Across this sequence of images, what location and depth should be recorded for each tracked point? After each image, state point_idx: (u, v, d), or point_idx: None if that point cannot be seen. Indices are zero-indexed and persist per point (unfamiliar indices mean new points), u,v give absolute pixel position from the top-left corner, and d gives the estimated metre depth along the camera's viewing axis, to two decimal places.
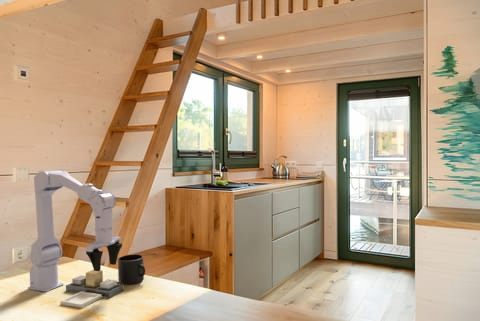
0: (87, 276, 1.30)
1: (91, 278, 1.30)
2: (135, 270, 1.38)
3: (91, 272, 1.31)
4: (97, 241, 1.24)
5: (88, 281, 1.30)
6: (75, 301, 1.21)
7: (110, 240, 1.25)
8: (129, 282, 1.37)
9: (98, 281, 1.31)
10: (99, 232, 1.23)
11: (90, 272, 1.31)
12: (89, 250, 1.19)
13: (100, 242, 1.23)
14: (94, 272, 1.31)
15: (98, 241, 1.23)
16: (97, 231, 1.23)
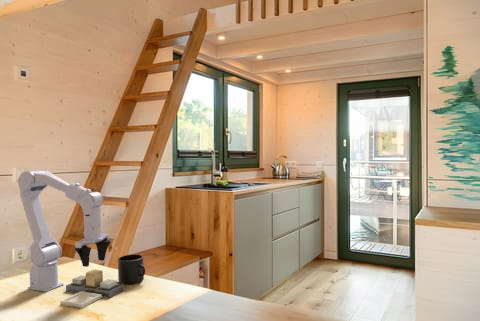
0: (87, 276, 1.31)
1: (91, 278, 1.30)
2: (135, 270, 1.38)
3: (91, 272, 1.31)
4: (86, 238, 1.29)
5: (88, 281, 1.30)
6: (75, 301, 1.21)
7: (98, 237, 1.31)
8: (129, 282, 1.37)
9: (98, 281, 1.31)
10: (88, 229, 1.29)
11: (90, 272, 1.31)
12: (78, 246, 1.25)
13: (89, 239, 1.29)
14: (94, 272, 1.31)
15: (87, 238, 1.29)
16: (86, 228, 1.29)
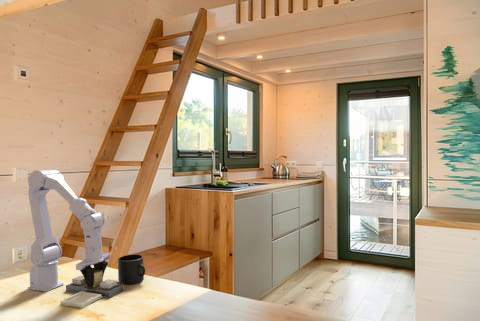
0: None
1: None
2: (135, 270, 1.38)
3: None
4: (86, 259, 1.29)
5: None
6: (75, 301, 1.21)
7: (99, 258, 1.31)
8: (129, 282, 1.37)
9: (98, 281, 1.31)
10: (88, 251, 1.29)
11: None
12: (78, 268, 1.25)
13: (89, 260, 1.29)
14: (94, 272, 1.31)
15: (87, 259, 1.29)
16: (86, 250, 1.29)
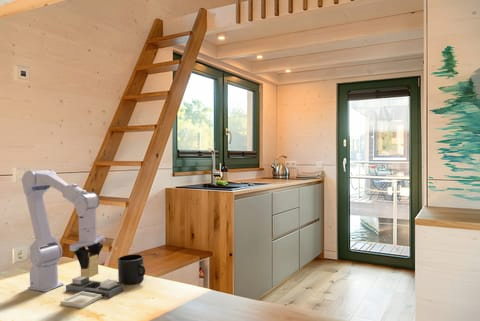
0: None
1: None
2: (135, 270, 1.38)
3: None
4: (81, 241, 1.25)
5: None
6: (75, 301, 1.21)
7: (94, 240, 1.27)
8: (129, 282, 1.37)
9: (93, 265, 1.27)
10: (82, 232, 1.25)
11: None
12: (72, 249, 1.21)
13: (83, 242, 1.25)
14: (89, 255, 1.27)
15: (82, 241, 1.25)
16: (81, 231, 1.25)
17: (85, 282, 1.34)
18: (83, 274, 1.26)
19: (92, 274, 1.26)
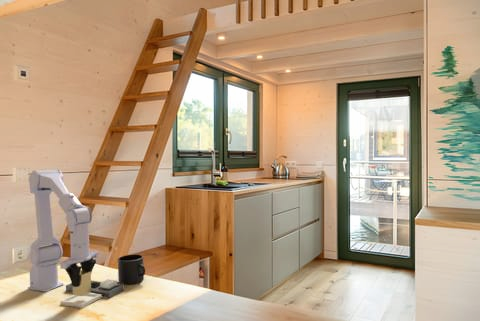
0: None
1: None
2: (135, 270, 1.38)
3: None
4: (72, 257, 1.20)
5: None
6: (75, 301, 1.21)
7: (86, 256, 1.21)
8: (129, 282, 1.37)
9: (86, 283, 1.21)
10: (74, 248, 1.20)
11: None
12: (63, 267, 1.15)
13: (75, 258, 1.19)
14: (81, 273, 1.21)
15: (73, 257, 1.20)
16: (72, 247, 1.20)
17: None
18: (75, 293, 1.21)
19: (84, 293, 1.21)
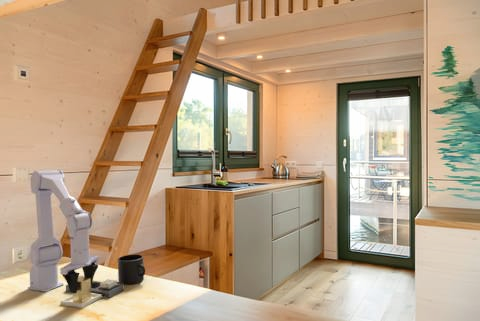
0: None
1: (78, 286, 1.20)
2: (135, 270, 1.38)
3: (78, 280, 1.21)
4: (72, 263, 1.20)
5: None
6: None
7: (86, 261, 1.21)
8: (129, 282, 1.37)
9: (86, 290, 1.21)
10: (74, 253, 1.20)
11: None
12: (63, 273, 1.16)
13: (75, 264, 1.19)
14: (81, 280, 1.21)
15: (73, 263, 1.20)
16: (72, 252, 1.20)
17: None
18: (75, 300, 1.21)
19: (84, 299, 1.21)
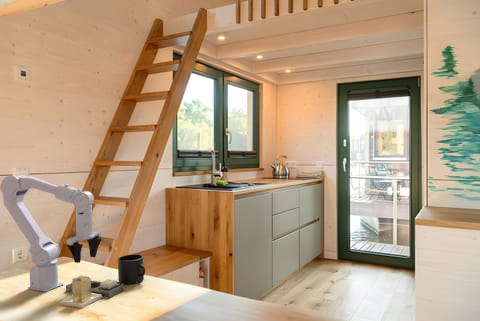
0: (74, 284, 1.21)
1: (78, 286, 1.20)
2: (135, 270, 1.38)
3: (78, 280, 1.21)
4: (77, 235, 1.35)
5: (75, 290, 1.21)
6: None
7: (90, 234, 1.36)
8: (129, 282, 1.37)
9: (86, 290, 1.21)
10: (79, 227, 1.34)
11: (77, 280, 1.21)
12: (69, 243, 1.30)
13: (80, 236, 1.34)
14: (81, 280, 1.21)
15: (78, 235, 1.34)
16: (77, 226, 1.35)
17: None
18: (75, 300, 1.21)
19: (84, 299, 1.21)
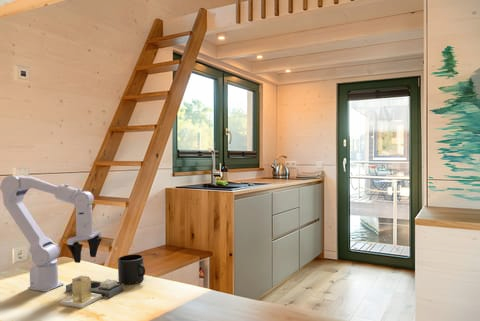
0: (74, 284, 1.21)
1: (78, 286, 1.20)
2: (135, 270, 1.38)
3: (78, 280, 1.21)
4: (78, 235, 1.35)
5: (75, 290, 1.21)
6: None
7: (90, 234, 1.36)
8: (129, 282, 1.37)
9: (86, 290, 1.21)
10: (79, 227, 1.34)
11: (77, 280, 1.21)
12: (70, 243, 1.30)
13: (80, 236, 1.34)
14: (81, 280, 1.21)
15: (78, 235, 1.35)
16: (78, 226, 1.35)
17: None
18: (75, 300, 1.21)
19: (84, 299, 1.21)
